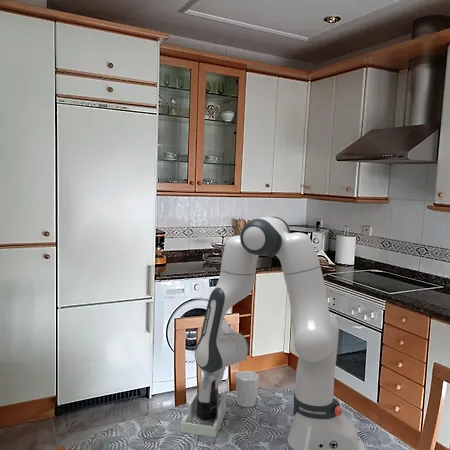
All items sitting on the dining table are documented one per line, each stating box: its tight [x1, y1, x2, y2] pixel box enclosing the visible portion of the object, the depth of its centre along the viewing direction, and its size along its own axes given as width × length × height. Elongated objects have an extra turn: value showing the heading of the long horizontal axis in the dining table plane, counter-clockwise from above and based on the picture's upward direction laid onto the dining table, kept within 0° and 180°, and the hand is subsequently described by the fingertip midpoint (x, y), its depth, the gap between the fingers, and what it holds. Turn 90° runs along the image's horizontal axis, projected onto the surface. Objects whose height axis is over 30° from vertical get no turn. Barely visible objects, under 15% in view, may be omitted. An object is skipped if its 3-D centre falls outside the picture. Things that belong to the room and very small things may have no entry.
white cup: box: [235, 370, 260, 408], centre depth 153 cm, size 8×8×10 cm
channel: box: [186, 391, 227, 426], centre depth 143 cm, size 11×8×6 cm
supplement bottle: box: [195, 380, 219, 422], centre depth 142 cm, size 7×7×12 cm
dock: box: [180, 414, 220, 438], centre depth 134 cm, size 11×5×3 cm, turn 78°
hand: (210, 402), depth 148 cm, fingers closed
